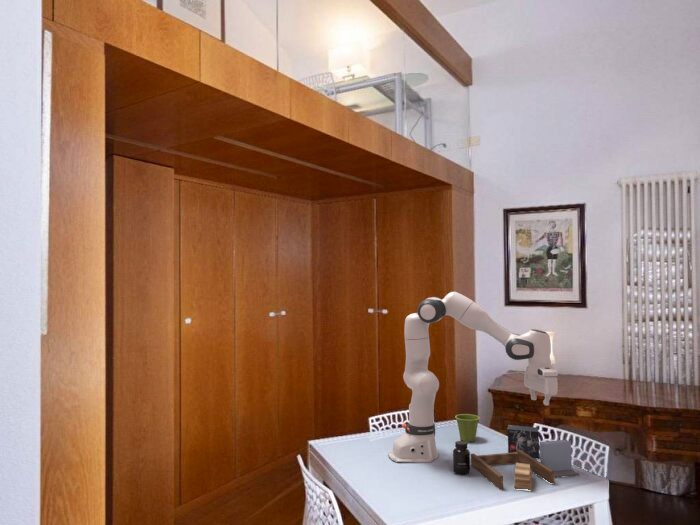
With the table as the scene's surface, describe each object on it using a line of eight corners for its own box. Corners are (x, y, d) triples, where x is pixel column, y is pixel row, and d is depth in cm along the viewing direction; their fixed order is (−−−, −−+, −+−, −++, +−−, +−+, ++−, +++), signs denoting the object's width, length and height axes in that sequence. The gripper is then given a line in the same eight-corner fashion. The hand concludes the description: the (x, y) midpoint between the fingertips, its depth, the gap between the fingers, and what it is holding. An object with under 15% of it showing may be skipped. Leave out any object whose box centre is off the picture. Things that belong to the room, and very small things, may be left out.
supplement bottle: (460, 476, 199) (459, 446, 200) (449, 471, 205) (448, 441, 206) (473, 473, 202) (473, 443, 203) (462, 468, 208) (461, 439, 209)
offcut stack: (531, 492, 184) (530, 475, 184) (514, 490, 186) (513, 473, 186) (532, 478, 197) (531, 463, 197) (516, 476, 199) (515, 461, 199)
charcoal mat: (551, 478, 196) (551, 476, 196) (534, 467, 208) (534, 465, 208) (579, 475, 198) (578, 473, 198) (560, 464, 210) (560, 463, 210)
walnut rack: (499, 489, 186) (499, 476, 186) (471, 465, 211) (470, 453, 211) (554, 484, 190) (554, 470, 190) (519, 461, 215) (519, 449, 215)
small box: (507, 456, 222) (507, 428, 223) (508, 451, 228) (507, 424, 229) (539, 459, 218) (538, 431, 218) (539, 454, 224) (538, 427, 225)
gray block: (544, 471, 200) (543, 444, 201) (540, 469, 203) (539, 441, 204) (571, 469, 203) (570, 441, 203) (567, 466, 206) (566, 439, 206)
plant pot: (483, 443, 240) (482, 419, 240) (458, 444, 240) (457, 420, 240) (477, 436, 252) (476, 413, 252) (453, 436, 252) (453, 413, 252)
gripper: (520, 365, 218) (520, 397, 217) (546, 373, 198) (546, 408, 197) (533, 364, 219) (533, 396, 218) (560, 372, 199) (560, 407, 198)
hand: (539, 402), depth 208 cm, fingers open, 8 cm apart
